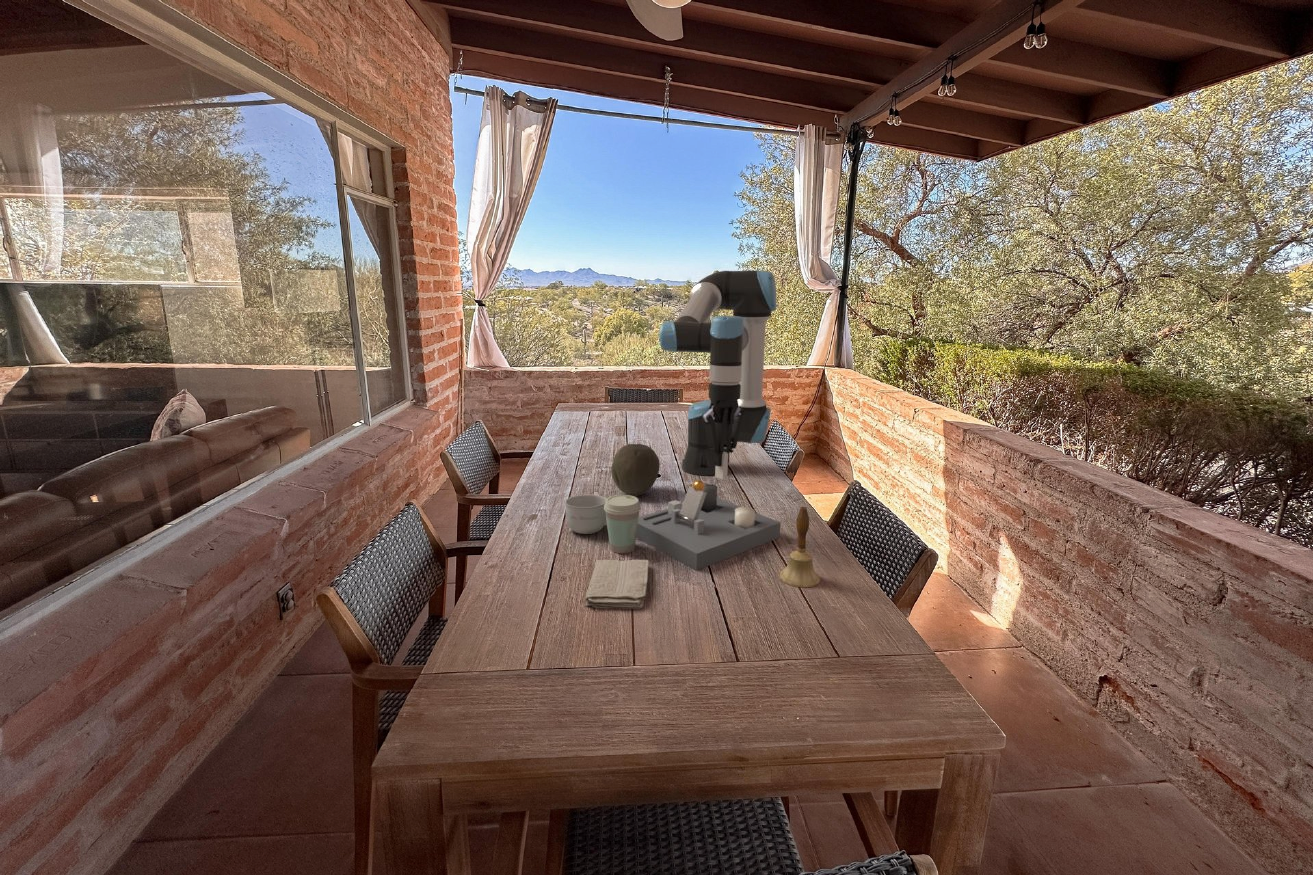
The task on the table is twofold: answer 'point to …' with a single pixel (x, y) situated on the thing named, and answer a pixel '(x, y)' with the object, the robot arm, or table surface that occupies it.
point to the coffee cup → (622, 522)
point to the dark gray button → (710, 497)
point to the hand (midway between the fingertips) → (721, 477)
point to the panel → (704, 534)
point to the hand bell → (800, 558)
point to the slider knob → (674, 506)
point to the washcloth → (618, 584)
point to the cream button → (744, 517)
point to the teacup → (585, 513)
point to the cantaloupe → (635, 469)
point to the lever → (692, 503)
